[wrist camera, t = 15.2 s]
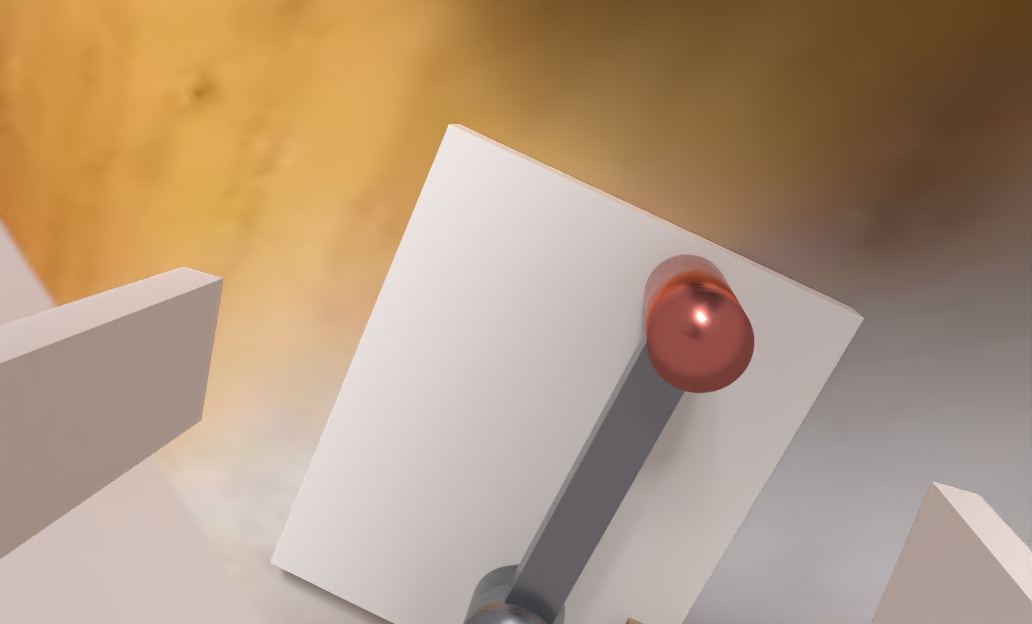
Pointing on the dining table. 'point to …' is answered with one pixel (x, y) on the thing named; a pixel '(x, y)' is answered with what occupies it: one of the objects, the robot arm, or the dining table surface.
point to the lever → (625, 435)
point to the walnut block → (632, 621)
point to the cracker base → (539, 401)
